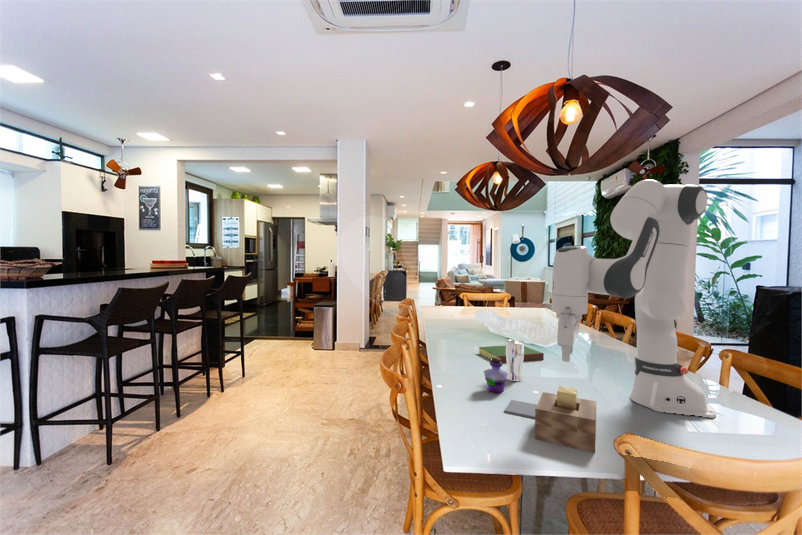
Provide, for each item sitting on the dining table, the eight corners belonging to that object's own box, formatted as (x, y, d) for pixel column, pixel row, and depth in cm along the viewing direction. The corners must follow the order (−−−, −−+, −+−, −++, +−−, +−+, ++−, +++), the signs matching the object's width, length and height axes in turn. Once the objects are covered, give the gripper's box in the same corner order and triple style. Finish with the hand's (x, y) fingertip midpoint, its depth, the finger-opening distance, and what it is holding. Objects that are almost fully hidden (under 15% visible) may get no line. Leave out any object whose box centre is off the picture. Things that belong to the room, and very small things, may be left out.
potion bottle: (481, 393, 129) (482, 359, 128) (485, 385, 137) (485, 354, 136) (507, 397, 126) (507, 362, 125) (509, 388, 134) (509, 356, 134)
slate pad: (543, 407, 117) (543, 405, 117) (538, 419, 108) (538, 417, 108) (511, 401, 122) (511, 399, 122) (504, 412, 113) (504, 410, 113)
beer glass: (524, 383, 140) (525, 344, 140) (505, 381, 142) (506, 343, 142) (522, 377, 147) (523, 340, 147) (504, 376, 149) (505, 339, 148)
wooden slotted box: (595, 429, 102) (596, 401, 102) (594, 452, 89) (595, 420, 89) (542, 418, 108) (543, 392, 108) (534, 438, 96) (535, 408, 96)
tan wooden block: (576, 418, 100) (576, 389, 100) (575, 424, 96) (575, 394, 96) (558, 414, 102) (558, 386, 102) (556, 420, 98) (557, 391, 98)
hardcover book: (498, 364, 167) (498, 356, 167) (478, 354, 185) (478, 347, 185) (544, 361, 174) (545, 353, 174) (521, 351, 192) (521, 344, 192)
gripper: (580, 311, 88) (578, 368, 88) (584, 303, 105) (582, 350, 106) (551, 308, 91) (550, 364, 91) (560, 301, 109) (558, 347, 109)
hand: (567, 356), depth 98 cm, fingers open, 8 cm apart
